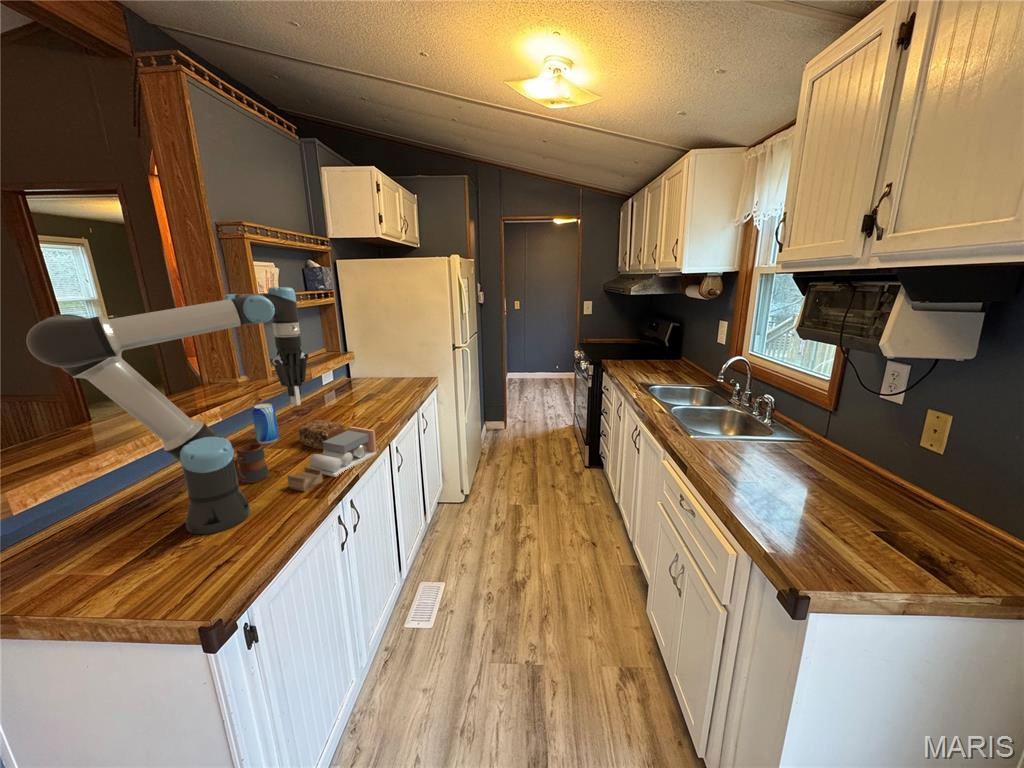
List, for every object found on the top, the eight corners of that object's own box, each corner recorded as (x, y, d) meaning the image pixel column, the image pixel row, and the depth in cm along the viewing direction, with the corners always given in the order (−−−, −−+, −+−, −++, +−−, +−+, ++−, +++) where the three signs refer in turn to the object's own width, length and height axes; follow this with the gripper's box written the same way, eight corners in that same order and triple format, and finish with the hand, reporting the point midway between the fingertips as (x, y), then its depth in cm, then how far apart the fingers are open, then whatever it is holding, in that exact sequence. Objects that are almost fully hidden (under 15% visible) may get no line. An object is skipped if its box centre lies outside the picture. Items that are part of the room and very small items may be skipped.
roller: (338, 456, 159) (336, 445, 157) (347, 450, 163) (345, 439, 162) (359, 460, 156) (356, 449, 154) (367, 453, 160) (365, 442, 158)
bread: (348, 444, 173) (346, 422, 170) (326, 453, 164) (324, 430, 161) (320, 436, 182) (318, 415, 179) (298, 444, 173) (295, 422, 170)
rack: (304, 491, 133) (303, 479, 132) (289, 487, 136) (287, 475, 135) (322, 481, 140) (321, 469, 139) (307, 477, 143) (306, 466, 142)
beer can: (252, 442, 174) (246, 406, 170) (271, 436, 181) (266, 401, 177) (264, 446, 170) (259, 409, 166) (283, 439, 177) (278, 404, 173)
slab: (323, 449, 152) (322, 441, 151) (348, 437, 163) (348, 430, 163) (344, 453, 148) (343, 445, 147) (368, 441, 160) (368, 433, 159)
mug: (225, 488, 135) (220, 455, 133) (252, 472, 147) (247, 441, 144) (249, 489, 134) (244, 457, 132) (274, 473, 146) (269, 443, 143)
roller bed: (308, 471, 147) (305, 446, 145) (353, 449, 168) (350, 426, 165) (334, 477, 143) (331, 451, 141) (376, 453, 164) (374, 430, 161)
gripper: (278, 338, 125) (287, 411, 131) (312, 334, 137) (319, 400, 143) (260, 337, 128) (271, 408, 134) (295, 332, 140) (303, 398, 146)
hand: (296, 404), depth 138 cm, fingers closed
